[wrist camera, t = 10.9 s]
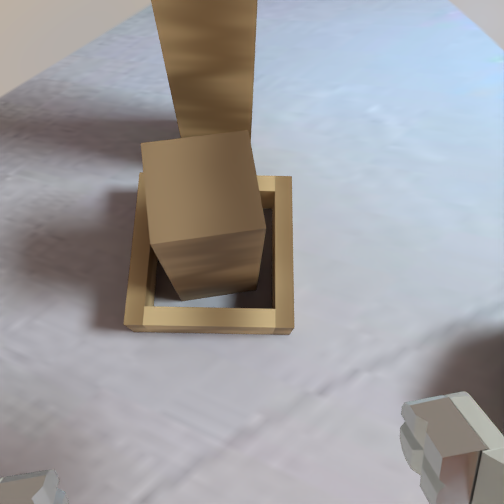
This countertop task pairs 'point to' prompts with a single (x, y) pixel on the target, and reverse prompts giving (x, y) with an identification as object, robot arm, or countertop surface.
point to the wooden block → (205, 213)
